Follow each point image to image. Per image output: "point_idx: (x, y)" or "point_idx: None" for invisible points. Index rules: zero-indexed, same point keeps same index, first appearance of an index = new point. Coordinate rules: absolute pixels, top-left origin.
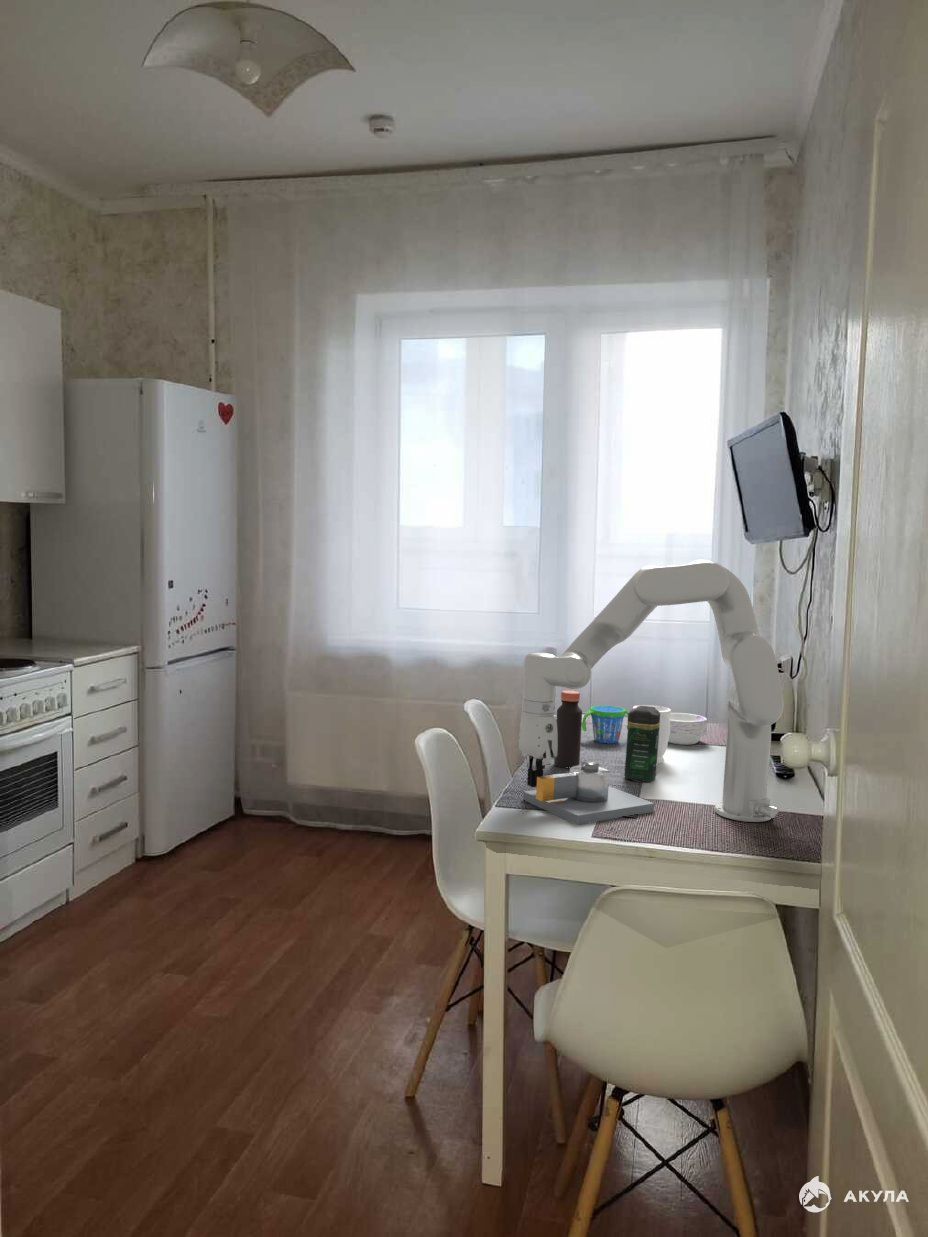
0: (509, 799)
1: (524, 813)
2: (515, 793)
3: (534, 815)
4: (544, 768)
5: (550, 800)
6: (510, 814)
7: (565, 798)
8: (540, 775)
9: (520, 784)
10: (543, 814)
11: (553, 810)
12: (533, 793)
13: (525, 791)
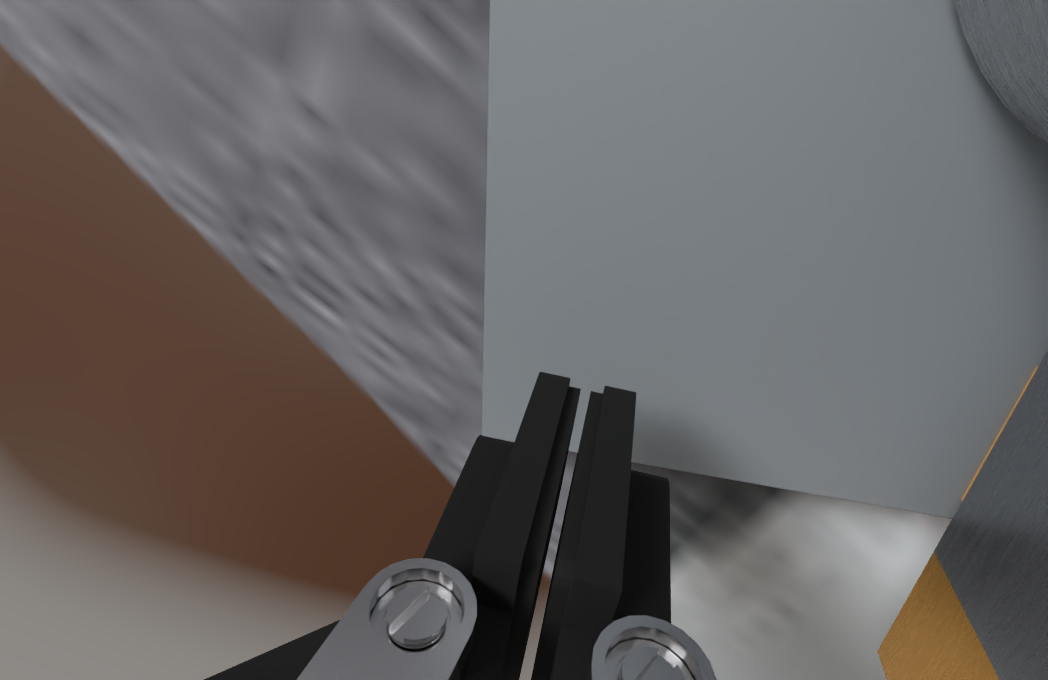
0: (438, 454)
1: (798, 607)
2: (300, 301)
3: (896, 596)
4: (708, 670)
5: (922, 456)
6: (745, 672)
7: (1037, 245)
8: (661, 580)
9: (10, 27)
10: (941, 536)
11: None
12: None
13: (490, 423)
